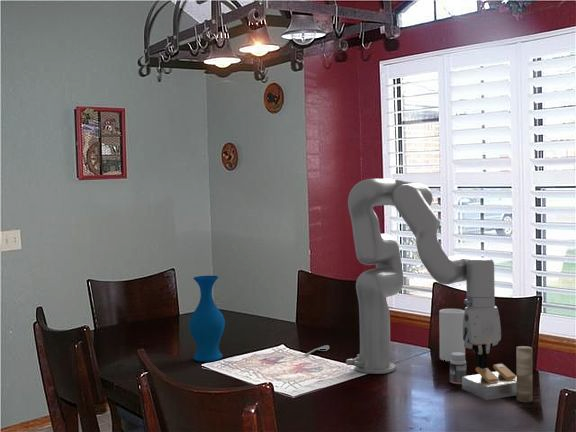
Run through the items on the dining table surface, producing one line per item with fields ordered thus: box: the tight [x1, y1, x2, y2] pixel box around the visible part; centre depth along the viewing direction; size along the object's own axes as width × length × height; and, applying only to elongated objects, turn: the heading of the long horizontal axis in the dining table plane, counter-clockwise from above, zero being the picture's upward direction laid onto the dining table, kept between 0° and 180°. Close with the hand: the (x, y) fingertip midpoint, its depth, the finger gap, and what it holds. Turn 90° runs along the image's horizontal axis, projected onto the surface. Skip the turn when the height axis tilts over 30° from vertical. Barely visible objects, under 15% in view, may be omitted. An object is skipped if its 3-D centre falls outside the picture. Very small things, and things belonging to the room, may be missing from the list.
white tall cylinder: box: [438, 308, 466, 362], centre depth 220 cm, size 8×8×16 cm
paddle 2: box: [492, 363, 517, 380], centre depth 186 cm, size 3×6×1 cm, turn 21°
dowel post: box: [515, 345, 534, 403], centre depth 176 cm, size 4×4×14 cm
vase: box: [188, 275, 226, 363], centre depth 226 cm, size 12×13×28 cm
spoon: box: [303, 344, 330, 357], centre depth 230 cm, size 4×21×2 cm, turn 141°
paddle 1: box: [475, 367, 498, 383], centre depth 183 cm, size 3×6×1 cm, turn 22°
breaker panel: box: [461, 370, 517, 401], centre depth 185 cm, size 14×11×4 cm
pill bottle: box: [449, 352, 467, 385], centre depth 194 cm, size 5×5×8 cm
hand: (481, 367), depth 186 cm, fingers closed
